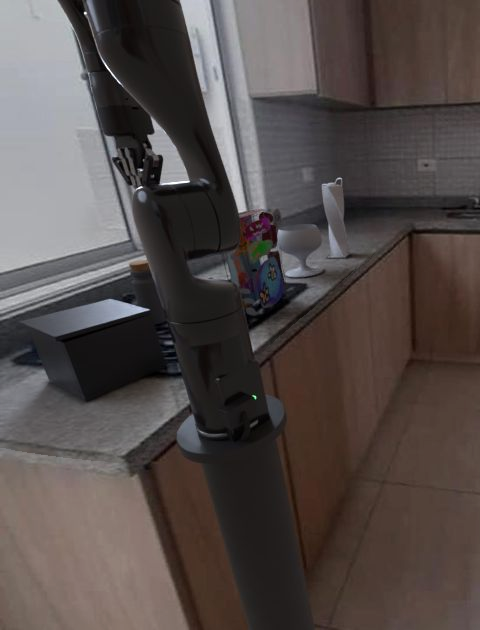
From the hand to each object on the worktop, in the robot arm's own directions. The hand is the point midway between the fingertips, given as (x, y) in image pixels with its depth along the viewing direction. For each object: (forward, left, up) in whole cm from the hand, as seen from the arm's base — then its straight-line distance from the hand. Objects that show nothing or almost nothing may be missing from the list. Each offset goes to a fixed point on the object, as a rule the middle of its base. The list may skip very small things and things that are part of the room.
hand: (150, 210), depth 80 cm
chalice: (+23, -55, -29) cm, 66 cm away
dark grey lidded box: (+6, +12, -29) cm, 32 cm away
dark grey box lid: (+6, +13, -18) cm, 23 cm away
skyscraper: (+27, -77, -29) cm, 86 cm away
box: (+8, -28, -29) cm, 41 cm away
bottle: (+26, -8, -29) cm, 40 cm away
